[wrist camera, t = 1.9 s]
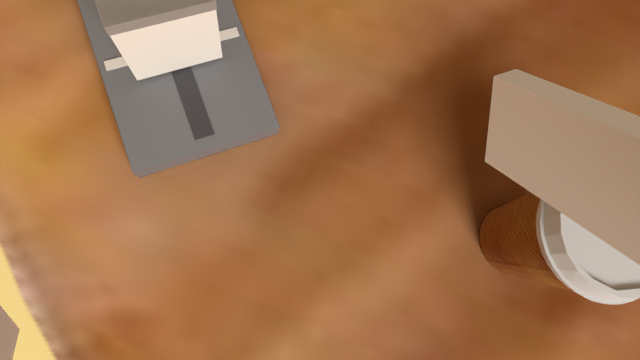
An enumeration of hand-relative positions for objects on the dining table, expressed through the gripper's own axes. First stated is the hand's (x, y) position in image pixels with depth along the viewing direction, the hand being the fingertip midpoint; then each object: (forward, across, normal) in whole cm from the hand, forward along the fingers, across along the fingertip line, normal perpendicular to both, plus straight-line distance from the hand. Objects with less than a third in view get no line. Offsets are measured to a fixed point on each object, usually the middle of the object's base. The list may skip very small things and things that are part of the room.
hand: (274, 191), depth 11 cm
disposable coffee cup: (+13, +22, -23) cm, 35 cm away
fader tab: (+29, -1, -3) cm, 29 cm away
